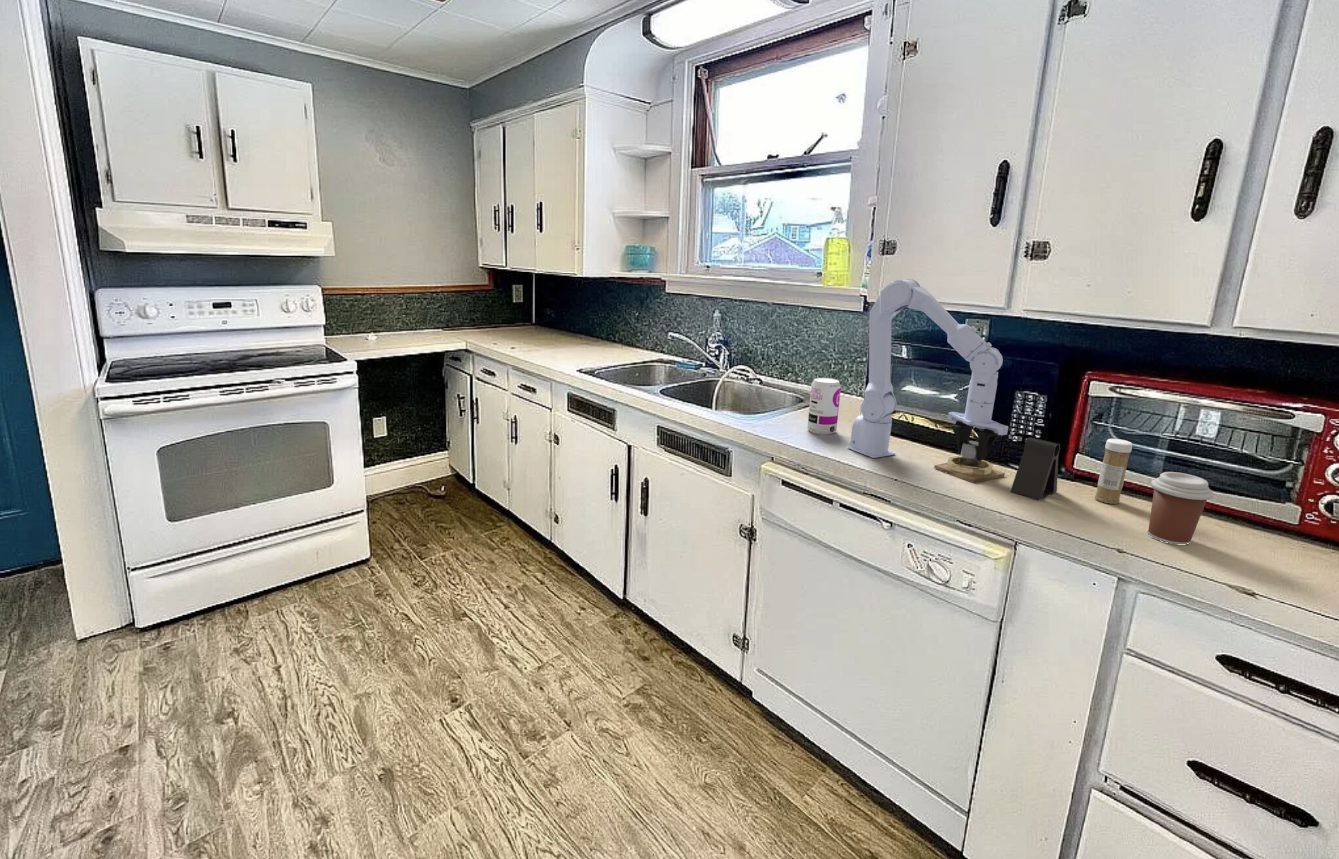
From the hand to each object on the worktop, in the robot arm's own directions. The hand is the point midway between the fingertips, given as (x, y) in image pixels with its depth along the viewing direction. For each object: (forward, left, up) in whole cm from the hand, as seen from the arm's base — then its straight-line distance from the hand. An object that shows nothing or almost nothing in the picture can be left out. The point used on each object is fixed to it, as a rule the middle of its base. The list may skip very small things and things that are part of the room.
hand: (971, 456), depth 153 cm
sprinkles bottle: (+25, +12, -4) cm, 28 cm away
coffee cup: (+41, +3, -4) cm, 41 cm away
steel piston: (0, 0, -2) cm, 2 cm away
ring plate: (0, 0, -4) cm, 4 cm away
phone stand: (+15, +2, -4) cm, 16 cm away
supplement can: (-42, -9, -4) cm, 43 cm away
